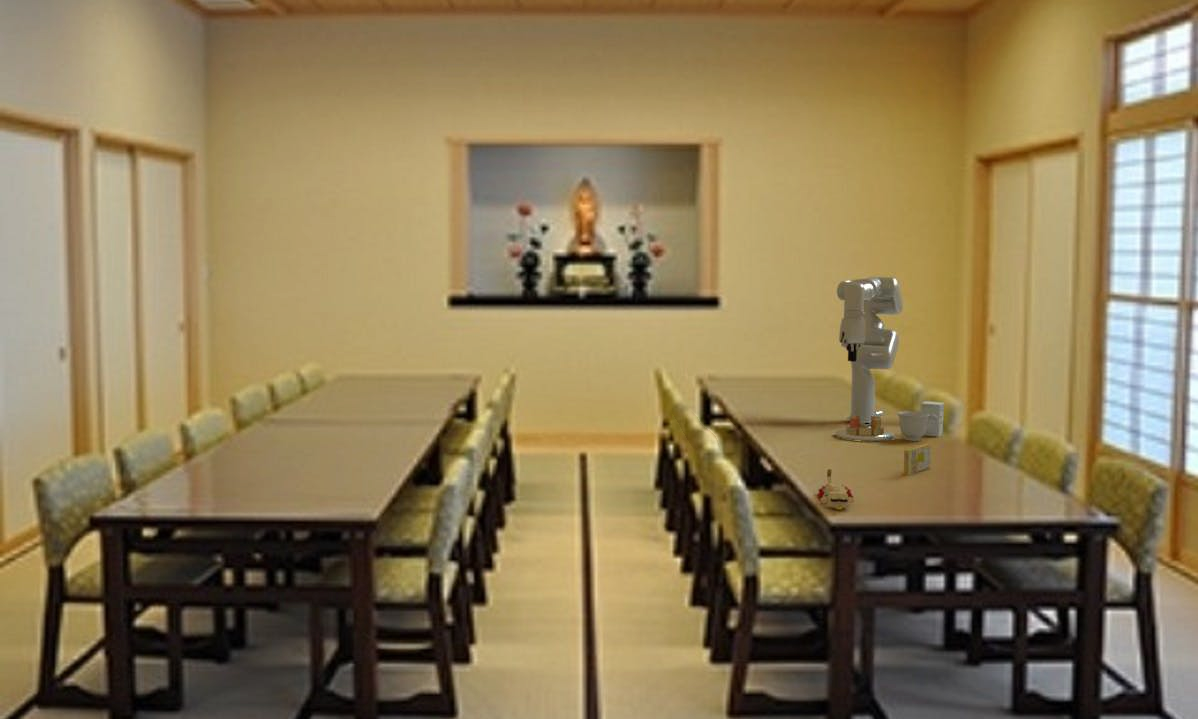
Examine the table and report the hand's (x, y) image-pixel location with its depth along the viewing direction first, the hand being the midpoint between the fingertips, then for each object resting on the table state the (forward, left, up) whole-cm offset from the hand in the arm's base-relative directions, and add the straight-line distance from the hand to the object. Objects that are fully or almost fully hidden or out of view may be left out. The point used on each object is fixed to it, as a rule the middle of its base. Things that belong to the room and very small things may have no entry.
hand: (852, 361), depth 492 cm
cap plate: (+9, +18, -27) cm, 34 cm away
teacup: (-4, +32, -27) cm, 42 cm away
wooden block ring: (+9, +18, -25) cm, 32 cm away
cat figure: (+100, +101, -27) cm, 144 cm away
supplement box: (-18, +26, -27) cm, 42 cm away
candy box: (+43, +78, -27) cm, 93 cm away
